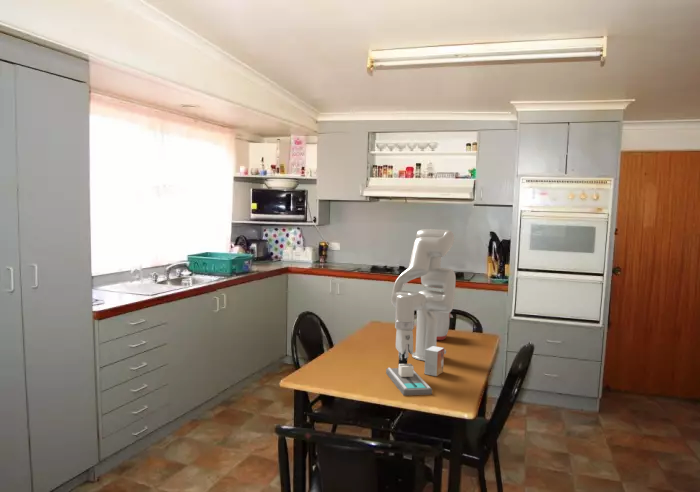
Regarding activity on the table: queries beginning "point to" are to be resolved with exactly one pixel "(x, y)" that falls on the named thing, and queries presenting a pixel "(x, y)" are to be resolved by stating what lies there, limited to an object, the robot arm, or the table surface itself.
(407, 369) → the fader knob
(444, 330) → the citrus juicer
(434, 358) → the small box
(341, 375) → the table surface
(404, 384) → the fader board
